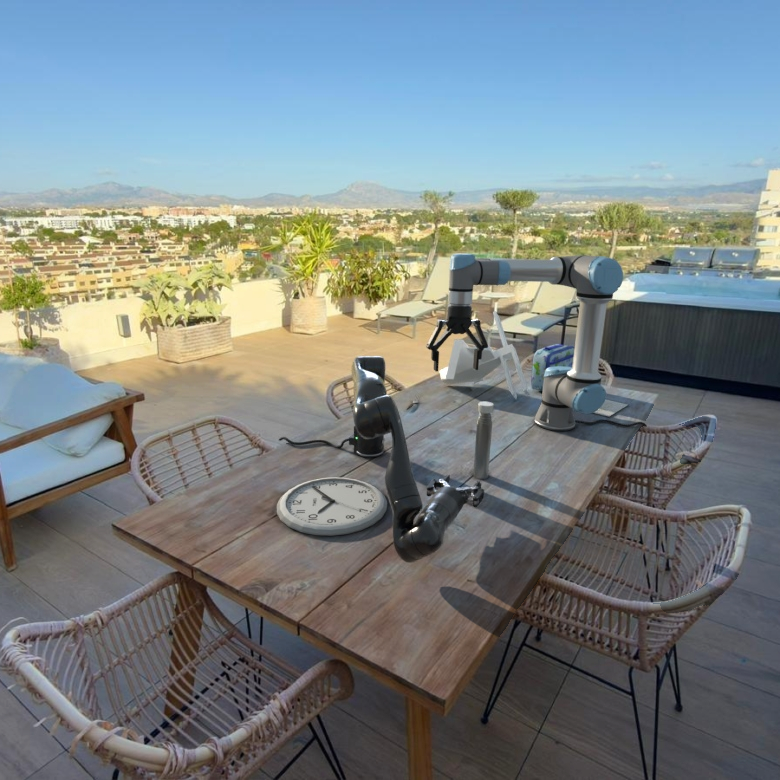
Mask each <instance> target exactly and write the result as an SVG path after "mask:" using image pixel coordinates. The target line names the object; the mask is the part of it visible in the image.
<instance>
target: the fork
mask: <svg viewBox="0 0 780 780" xmlns="http://www.w3.org/2000/svg"><path fill="white" fill-rule="evenodd" d="M420 399H421V396H420V395H417V394H416V395H415V396H414V398H413V400H412V403H410V404H409V405H408V406H407V407H406V411H408V410H409V409H410V408H412V407H413V406H414V404H418V403H419V402H420Z"/></svg>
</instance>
